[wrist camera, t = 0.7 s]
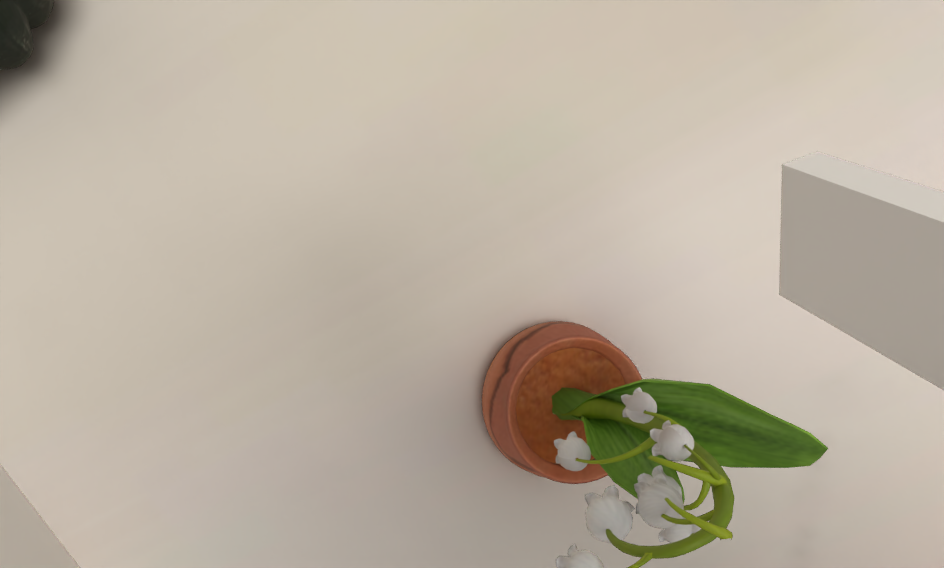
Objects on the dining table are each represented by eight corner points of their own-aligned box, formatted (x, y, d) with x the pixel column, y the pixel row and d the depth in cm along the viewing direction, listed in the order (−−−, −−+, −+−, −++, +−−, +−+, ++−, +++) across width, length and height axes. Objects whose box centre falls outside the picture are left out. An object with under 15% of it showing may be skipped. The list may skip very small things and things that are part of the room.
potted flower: (489, 509, 45) (659, 780, 20) (426, 373, 44) (521, 482, 20) (643, 427, 47) (969, 584, 22) (585, 295, 46) (855, 305, 21)
